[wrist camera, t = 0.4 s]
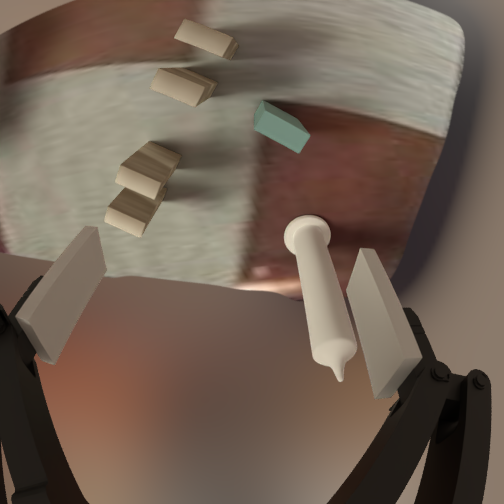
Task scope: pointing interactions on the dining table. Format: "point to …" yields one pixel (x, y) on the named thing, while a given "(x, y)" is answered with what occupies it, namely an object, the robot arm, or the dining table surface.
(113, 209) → the light brown flat block
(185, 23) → the tile
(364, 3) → the dining table surface
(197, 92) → the tile
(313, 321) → the white post
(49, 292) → the robot arm
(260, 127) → the tile
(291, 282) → the dining table surface
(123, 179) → the tile
